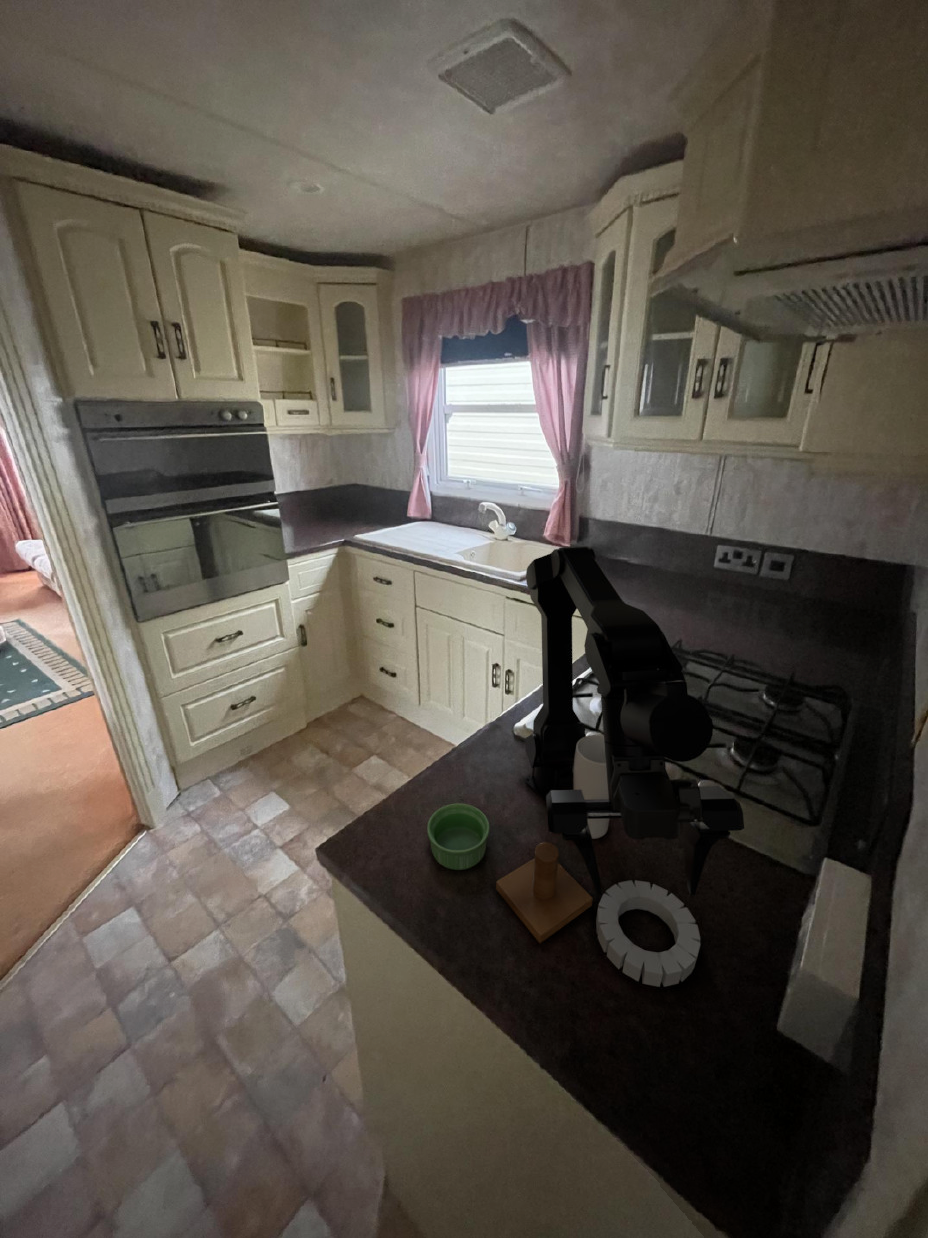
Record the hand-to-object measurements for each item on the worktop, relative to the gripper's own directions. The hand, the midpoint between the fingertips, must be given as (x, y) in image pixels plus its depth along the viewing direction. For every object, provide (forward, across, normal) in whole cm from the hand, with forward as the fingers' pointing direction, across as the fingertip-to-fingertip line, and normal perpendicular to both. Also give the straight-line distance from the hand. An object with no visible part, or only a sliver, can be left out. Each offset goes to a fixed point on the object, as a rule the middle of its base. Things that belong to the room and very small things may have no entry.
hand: (644, 893), depth 53 cm
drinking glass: (+3, -3, +27) cm, 27 cm away
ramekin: (+4, -23, +20) cm, 31 cm away
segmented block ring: (+11, +2, +12) cm, 16 cm away
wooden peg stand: (+8, -11, +15) cm, 20 cm away
